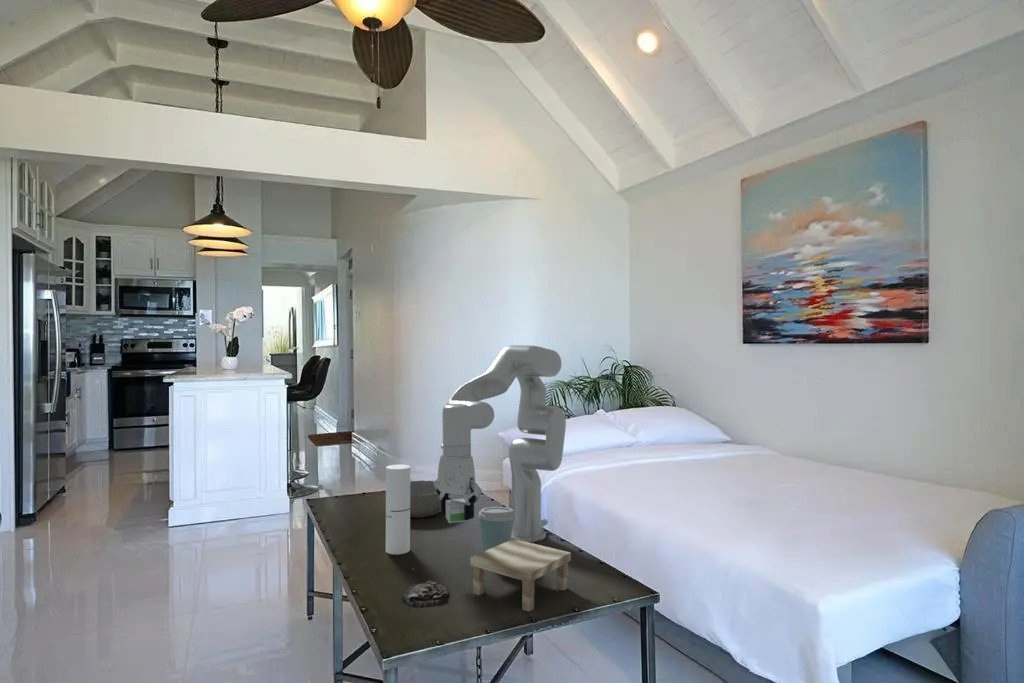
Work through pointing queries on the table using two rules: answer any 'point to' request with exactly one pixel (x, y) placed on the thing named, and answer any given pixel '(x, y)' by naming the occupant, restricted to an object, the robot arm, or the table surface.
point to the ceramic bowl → (423, 499)
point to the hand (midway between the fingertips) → (457, 515)
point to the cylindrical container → (397, 509)
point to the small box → (455, 510)
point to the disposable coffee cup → (496, 526)
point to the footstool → (521, 566)
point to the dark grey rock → (425, 594)
